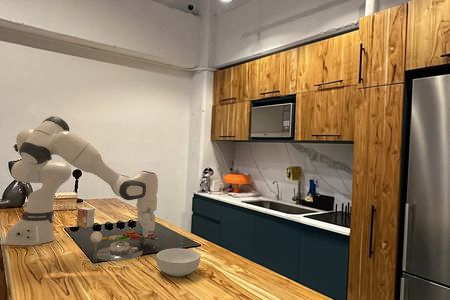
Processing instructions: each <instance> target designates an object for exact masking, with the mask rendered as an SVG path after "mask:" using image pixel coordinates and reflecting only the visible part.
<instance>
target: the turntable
mask: <svg viewBox="0 0 450 300" xmlns="http://www.w3.org/2000/svg"><path fill="white" fill-rule="evenodd" d="M145 244H146V239H145V237H144V236H140V237H139V240H138V247H135V246H131V245H129V253H128V254H125V255H112V254H110V246H107V247H103V248H99V249H97V259H98V260H99V259H100V260H103V261H110V262H111V261H112V262H115V261H116V262H119V261H127V260H128V261H129V260H132V259H136V258H138V257H140V256H142V255H143V253H144V252H143V251H144V250H142V249H141V248H145V246H146V245H145Z"/></svg>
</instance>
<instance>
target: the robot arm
mask: <svg viewBox="0 0 450 300" xmlns="http://www.w3.org/2000/svg"><path fill="white" fill-rule="evenodd" d="M15 138H16V141H15V142H16V146H17V147H16V148H17V150H18V154H19V156H20V157H21V159H20V160H18V161H16V162H15V163H13V165H12V167H11V171H10V172H11V177H12V178H13V180H14V181H17V182H20V183H28V184H29V183H30V184H32V183H33V184H42V186H41V188H38V189H36V190H33V191H32V192H30V193H29V194H28V197H27V204H26V210H25V211H23V213H22V214H21V216H20V217H21V218H22V219H21V220H19V221H17V222H16V223H15V224H13V225H12V226H11V227H9V228H8V230H7V232H6V236H5V237H3V238H2V239H0V245H3V246H32V247H33V246H37V245H41V244H46V243H49V242H52V241H54V240H56V236H55V232H54V231H55V230H54V220H55V212H54V202H55V196H56V193H57V191H58V189H59V188H60V187H61V186H62V185H63V184H65V183H66V182H67V181H69V180H70V178H71V175H72V168H71V166H73V167H75V168H76V169H77V170H80V171H82V172H84V173H90V174H92V175H95V176H96V177H98V178H99V179H100V180H102V181H104V182H105V183H106V184H108V185H109V186H110V189H111V190H112V191H113V193H114V194H115V195H116V196H118V197H120V198H121V199H123V200H125V201H134V200H137V202H136V210H137V221H138V223H139V224H140V225H141V226H142V229H141V230H143V236H144V237H148V232H149V231H150V232H154V231H155V229H156V215H155V213H154V212H156V211H157V210H158V209H157V207H158V197H157V193H158V192H159V191H158V190H159V189H158V187H159V180H158V175H157V174H156V173H155V172H152V171H147V170H141V171H140V172H138V173H136V174H135V175H133V176H128V175H125V174H120V173H118V172H116V171H115V170H114V169H112V168H111V167H110V166H109V165H107V164H106V163H105V162H104V161H103V159H102V154H101V153H100V152H99V151H98V150H97V149H96V148H95V146H93V145H92V144H91V143H89V142H88V141H87V140H85V139H84V138H82V137H80V136H78V135H77V134H75V133H73V132H71V131H70V126H69V124H68V123H67V122H66V121H65V120H64V119H63V118H61V117H58V116H49V117H47V118H45V119H44V120H43V121H42V123H40V124H39V125H38V126H37V127H36V128H35V129H33V128H26V129H23V130H21V131H19V132H18V134H17V135H16V137H15ZM53 155H57V156H59V157H61V158H62V159H63V160H64V161H66V162H64V161H63V162H62V161H59V160H58V161H57V160H53V159H52V156H53Z"/></svg>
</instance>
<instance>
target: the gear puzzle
mask: <svg viewBox="0 0 450 300" xmlns="http://www.w3.org/2000/svg"><path fill="white" fill-rule="evenodd" d="M140 236H143V229H141V230H139V231H135V230H128V231H126V232H124V233H123V234H121V235H120V234H119V235H117V234H116V235H115V234H114V235H111V236H108V237H107V236H102V241H101V242H107V241H124V242H125V241H129V240H131V241H132V240H135V241H137V240H138V241H139V237H140ZM158 239H159V237H158V236H157V234H155V233H154V232H152V231H149V232H148V237H145V240H158Z"/></svg>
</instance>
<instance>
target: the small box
mask: <svg viewBox="0 0 450 300" xmlns="http://www.w3.org/2000/svg"><path fill="white" fill-rule="evenodd" d="M95 210H96V209H95V208H91V207H86V206H82V207H78V208H77V213H76V226H77V227H81V228H85V229H87V228H92V227H94V226H93V225H95V212H96V211H95Z"/></svg>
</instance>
